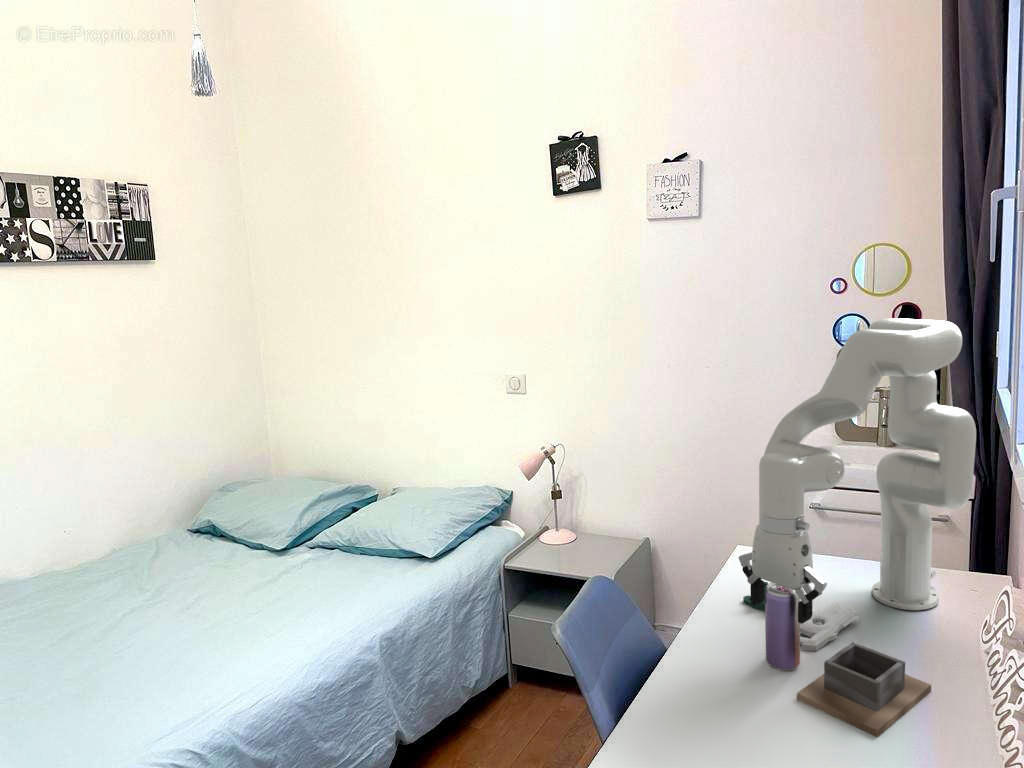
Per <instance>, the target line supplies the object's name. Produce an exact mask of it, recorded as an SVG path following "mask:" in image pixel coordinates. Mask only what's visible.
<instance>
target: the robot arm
mask: <svg viewBox="0 0 1024 768" xmlns="http://www.w3.org/2000/svg"><path fill="white" fill-rule="evenodd" d="M962 347H963V335H962V332H961V330H960V328H959V327H958V326H957V325H956V324H954V323H953V322H950V321H946V320H938V319H937V320H936V319H935V320H934V319H914V318H901V317H900V318H898V317H897V318H895V317H894V318H892V317H891V318H881V319H877V320H875V321H873V322H872V323H871V324H870V325H869V326H868V329H860V330H856V331H855V332H852V334H851V335H850V336H849V337H848V338H847V340H846V341H845V343H844V345H843V347H842V349H841V350H840V352H839V354H838V357H837V358H836V360H835V362H834V364H833V366H832V367H831V369H830V372H829V373H828V376H827V377H826V379H825V381H824V383H823V385H822V387H821V389H820V390H819V391H818V392H817V393H815V394H814V395H812V396H810V397H809V398H807V399H806V400H804V401H803V402H801V403H799V405H797V406H795V407H794V408H793V409H791V410H790V411H789V412H787V414H785V415H784V417H782V418H781V420H779V422H778V424H777V425H776V426H775V428H774V430H773V433H772V435H771V436H770V439H768V443H767V445H766V447H765V450H764V455H763V456H762V457H761V458H760V460H759V464H758V469H759V471H758V472H759V474H758V479H759V480H758V496H759V498H758V500H759V501H758V503H759V504H758V505H759V506H758V507H759V508H758V514H759V515H758V524H757V525H756V528H755V531H754V536H753V541H752V543H753V544H752V552H751V551H750V552H747V553H743V554H741V555H739V556H738V560H739V563H740V565H741V567H742V569H741V570H742V572H743V574H744V575H745V576H746V578H747V583H748V584H749V585H750V596H751V604H752V605H757V604H759V603H761V602H763V601H764V582H769V583H775V584H778V585H781V586H783V587H786V588H789V589H793V590H795V591H796V593H797V595H798V596H799V598H800V602H798V622H799V623H801V624H803V623H804V622H806V621H808V620H810V619H811V617H812V614H813V601H814V600H815V599H816V598H818V597H819V596H821V595H822V593H823V592H824V590H825V589H826V587H827V585H828V583H827V581H826V580H825V579H824V578H823V577H821V575H819V574H818V573H817V572H816V571H815V570H814V564H813V563H814V561H813V551H812V545H811V540H810V537H809V533H808V531H809V529H810V528H811V527H810V523H808V522H806V521H805V516H804V514H805V513H804V511H805V510H804V509H805V506H804V505H805V504H804V503H805V502H804V501H805V493H811V492H823V491H828V490H830V489H833V488H834V487H836V486H837V485H838V484H839V483H840V482H841V481H842V479H843V477H844V474H845V463H844V461H843V459H842V458H841V457H840V455H839V454H837V453H836V452H834V451H833V450H830V449H826V448H821V447H816V446H812V445H808V444H803V443H801V442H802V441H803V440H804V439H805V437H807V436H808V435H809V434H810V433H812V432H813V431H816V430H817V429H819V428H822V427H824V426H827V425H831V424H835V423H839V422H842V421H846V420H849V419H853V418H857V417H859V416H861V415H862V414H863V413H864V412H865V411H866V409H867V407H868V405H869V403H870V401H871V399H872V398H873V395H874V393H875V391H876V390H877V387H878V385H879V383H880V381H881V380H882V378H883V377H884V376H888V378H889V398H888V399H889V400H888V401H889V402H888V415H887V433H888V437H889V439H890V440H891V442H893V443H894V444H897V445H898V446H902V447H905V448H910V449H914V450H919V451H920V450H921V451H925V452H928V453H929V452H931V453H936V454H938V457H939V458H936V457H930V456H927V455H921V454H917V453H911V452H905V451H904V452H903V451H896V452H890V453H887V454H885V455H884V456H883V457H882V458H881V459H880V460H879V462H878V464H877V467H876V483H877V488H878V492H879V498H880V499H879V500H880V519H881V520H880V557H879V558H880V563H879V564H880V565H879V567H880V570H879V571H880V572H879V573H880V574H879V576H880V577H879V581H878V582H875V583H874V584H873V586H872V587H871V593H872V596H873V597H874V599H876V600H877V601H878V602H880V603H881V604H883V605H886V606H889V607H890V608H894V609H900V610H905V611H923V610H929V609H931V608H934V607H936V606H937V605H938V604H939V595H938V592H937V591H935V589H933V588H932V587H931V581H932V579H933V578H935V577H936V576H937V572H936V570H934V569H933V568H932V545H933V544H932V543H933V521H932V520H933V519H932V515H931V513H930V510H929V508H928V506H931V507H934V508H935V507H936V508H940V509H943V510H949V511H955V510H960V509H962V508H964V507H965V506H966V505H967V503H968V501H969V500H970V497H971V494H972V490H973V484H974V483H973V481H974V471H975V457H976V443H977V428H976V423H975V420H974V418H973V416H972V414H970V412H968V411H967V410H965V409H963V408H960V407H956V406H952V405H951V406H949V405H942V404H939V403H938V399H937V391H938V390H937V389H938V386H937V385H938V379H937V374H936V372H935V371H938V370H939V369H942V368H944V367H947V366H948V365H950V364H951V363H953V362H954V361H955V360H956V359H957V358H958V356H959V354H960V352H961V351H962ZM764 580H765V581H764ZM812 583H813V585H814V587H813V588H812V587H811V585H810V584H812Z"/></svg>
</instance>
